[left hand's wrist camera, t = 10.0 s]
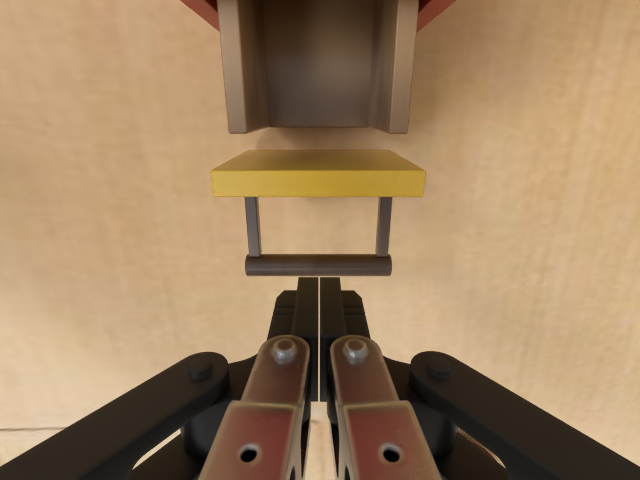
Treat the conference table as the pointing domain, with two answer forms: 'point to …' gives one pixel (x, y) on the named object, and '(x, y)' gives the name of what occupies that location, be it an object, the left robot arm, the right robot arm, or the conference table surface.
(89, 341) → the conference table surface
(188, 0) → the cabinet
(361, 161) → the drawer
